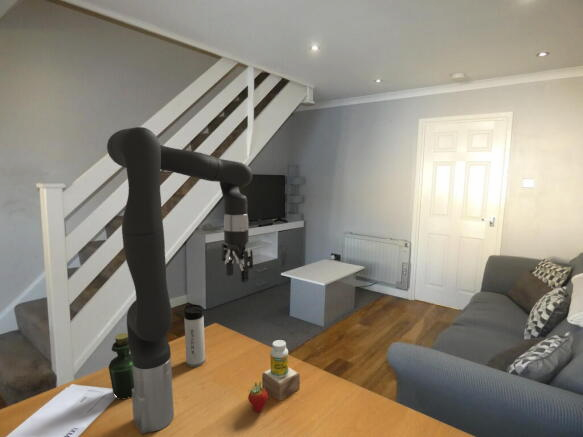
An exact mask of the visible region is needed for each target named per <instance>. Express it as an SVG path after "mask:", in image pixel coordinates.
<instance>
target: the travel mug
mask: <svg viewBox="0 0 583 437" xmlns="http://www.w3.org/2000/svg"><path fill="white" fill-rule="evenodd" d="M183 310H184V311H183V314H184V318H183V321H184V336H185V338H184V342H185V359H186V360H185V361H186V362H185V363H186V365H187V366H188V367H190V368H196V367H200V366H202V365H203V364H204V363H205V362H206V350H205V349H206V348H205V346H206V345H205V343H206V342H205V324H204V321H205V320H204V318H205V317H204V307H203V306H202V305H201V304H200V305H199V304H191V303H189V304H186V305H185V306H184V309H183Z"/></svg>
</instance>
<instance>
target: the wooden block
mask: <svg viewBox="0 0 583 437" xmlns="http://www.w3.org/2000/svg"><path fill="white" fill-rule="evenodd" d="M261 373H262V375H261V380H262V381H261V388H264V387H265V388H264V389H265V390H266V391H267V394H270V395H271V396H272V397H273V398H274V399H276V400H278V402H281V401H283V400H284V399H285V398H288V397H289V396H291V395H292V394H294V393H296V392H297V391H298V390H300V387H301V385H300V384H301V383H300V380H301V379H300V378H301V377H300V374H301V373H299V372H297V371H295V370H294V369H293V368H291V367H289V366H288V374H287V375H286V376H285V377H282V378H277V377H274V376H273V375H272V374H271V368H269V369H267V370H265V371H263V372H261Z"/></svg>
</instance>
